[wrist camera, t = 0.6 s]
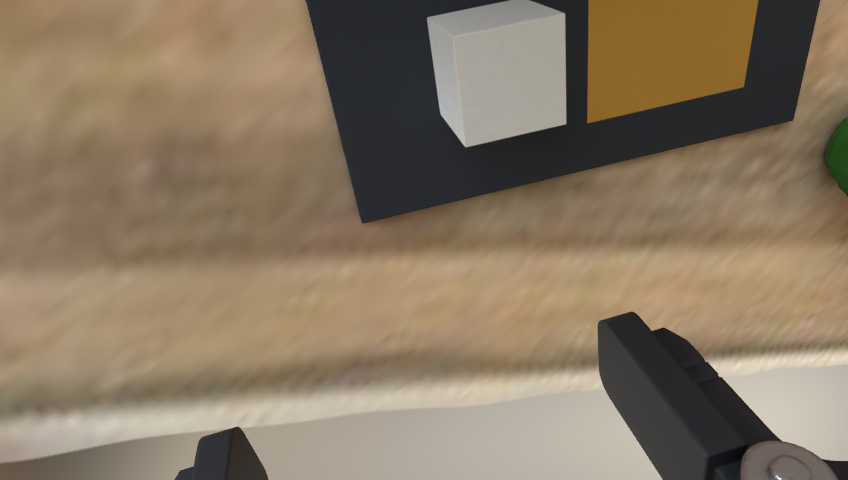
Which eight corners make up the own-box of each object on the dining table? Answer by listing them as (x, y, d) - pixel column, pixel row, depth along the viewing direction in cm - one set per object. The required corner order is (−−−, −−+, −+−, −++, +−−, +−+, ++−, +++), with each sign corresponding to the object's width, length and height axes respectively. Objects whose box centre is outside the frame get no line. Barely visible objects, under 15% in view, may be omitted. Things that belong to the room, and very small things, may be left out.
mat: (282, -93, 24) (283, -93, 23) (856, -196, 26) (865, -198, 26) (361, 220, 32) (362, 224, 32) (787, 118, 35) (793, 120, 35)
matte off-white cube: (426, 16, 27) (452, 36, 23) (522, -3, 27) (565, 12, 23) (439, 114, 29) (465, 147, 25) (527, 94, 30) (566, 124, 26)
